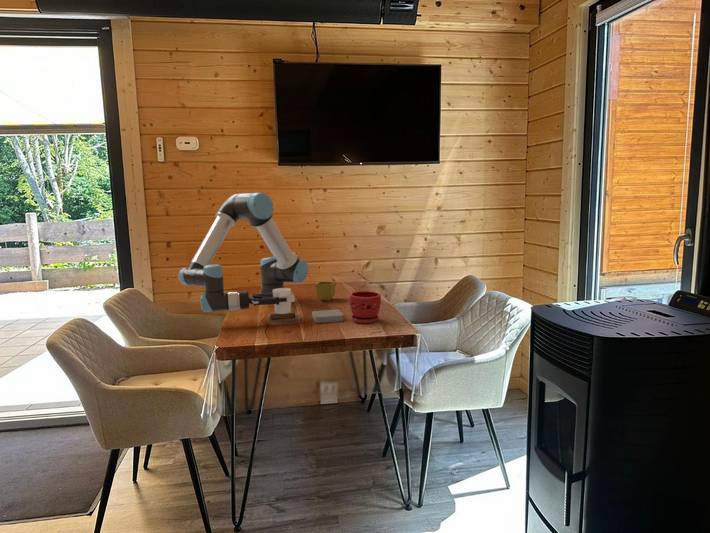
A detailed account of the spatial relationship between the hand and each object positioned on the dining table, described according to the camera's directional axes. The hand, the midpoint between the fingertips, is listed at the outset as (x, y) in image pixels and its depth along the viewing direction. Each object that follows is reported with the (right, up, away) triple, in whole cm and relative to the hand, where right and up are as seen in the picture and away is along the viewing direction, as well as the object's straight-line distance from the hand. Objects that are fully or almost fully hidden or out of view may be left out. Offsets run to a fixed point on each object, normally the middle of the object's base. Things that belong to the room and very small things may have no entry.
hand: (293, 296), depth 208 cm
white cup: (-5, -7, 0) cm, 8 cm away
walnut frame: (-4, -11, 0) cm, 11 cm away
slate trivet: (+15, -10, +3) cm, 18 cm away
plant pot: (+31, -10, -3) cm, 33 cm away
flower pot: (+11, -5, +45) cm, 46 cm away
